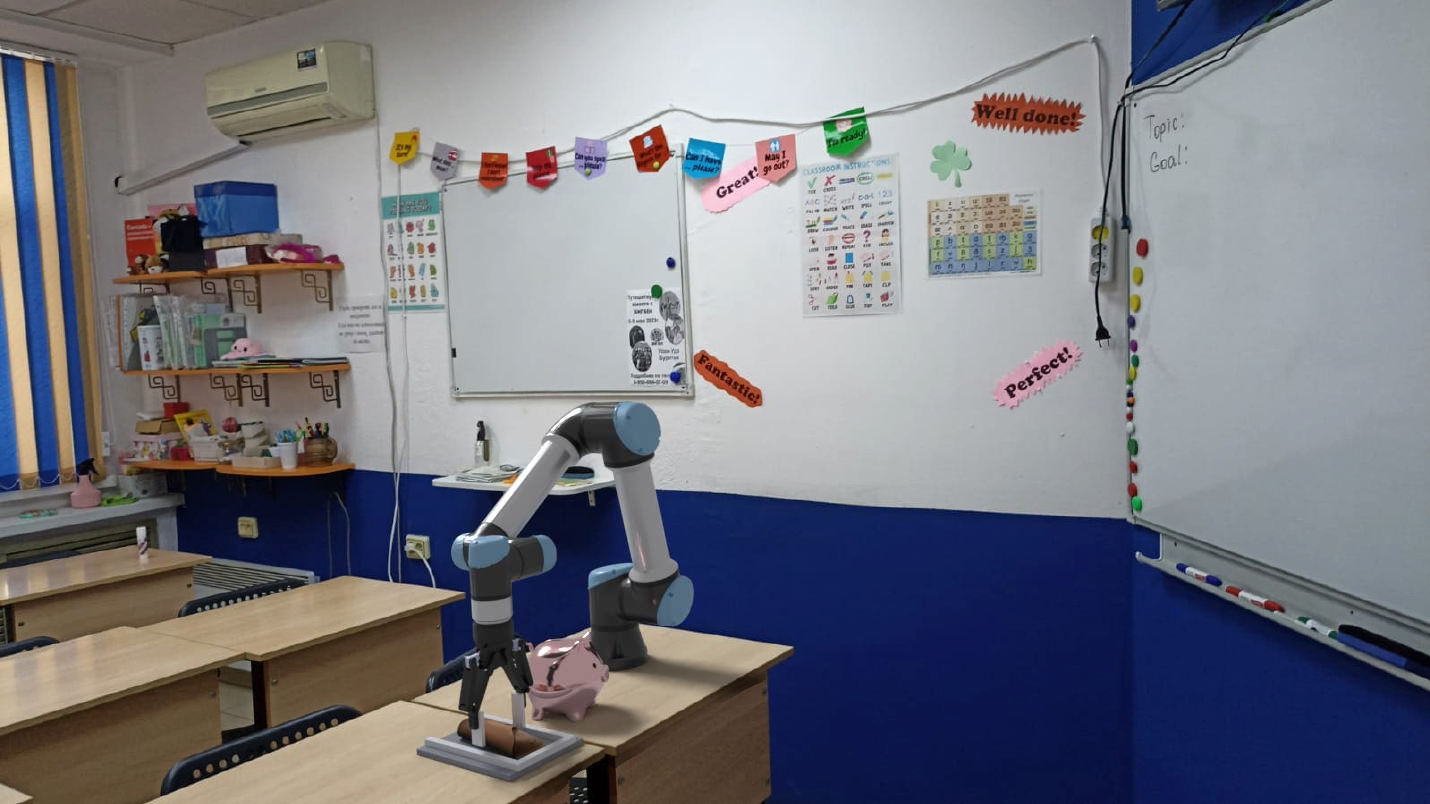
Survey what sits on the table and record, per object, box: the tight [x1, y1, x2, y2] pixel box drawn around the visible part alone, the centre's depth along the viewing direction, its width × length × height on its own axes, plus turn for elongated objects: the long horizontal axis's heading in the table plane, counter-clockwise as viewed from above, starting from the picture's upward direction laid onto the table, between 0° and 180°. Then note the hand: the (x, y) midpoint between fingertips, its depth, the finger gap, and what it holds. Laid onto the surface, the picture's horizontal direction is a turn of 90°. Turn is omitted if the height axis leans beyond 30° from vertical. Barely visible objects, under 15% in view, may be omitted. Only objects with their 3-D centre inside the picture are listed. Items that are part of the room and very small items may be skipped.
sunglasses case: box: [456, 718, 546, 759], centre depth 186 cm, size 18×7×7 cm, turn 49°
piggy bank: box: [525, 631, 610, 722], centre depth 204 cm, size 15×18×16 cm
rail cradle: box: [416, 713, 584, 782], centre depth 186 cm, size 19×25×2 cm
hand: (499, 735), depth 186 cm, fingers open, 10 cm apart
